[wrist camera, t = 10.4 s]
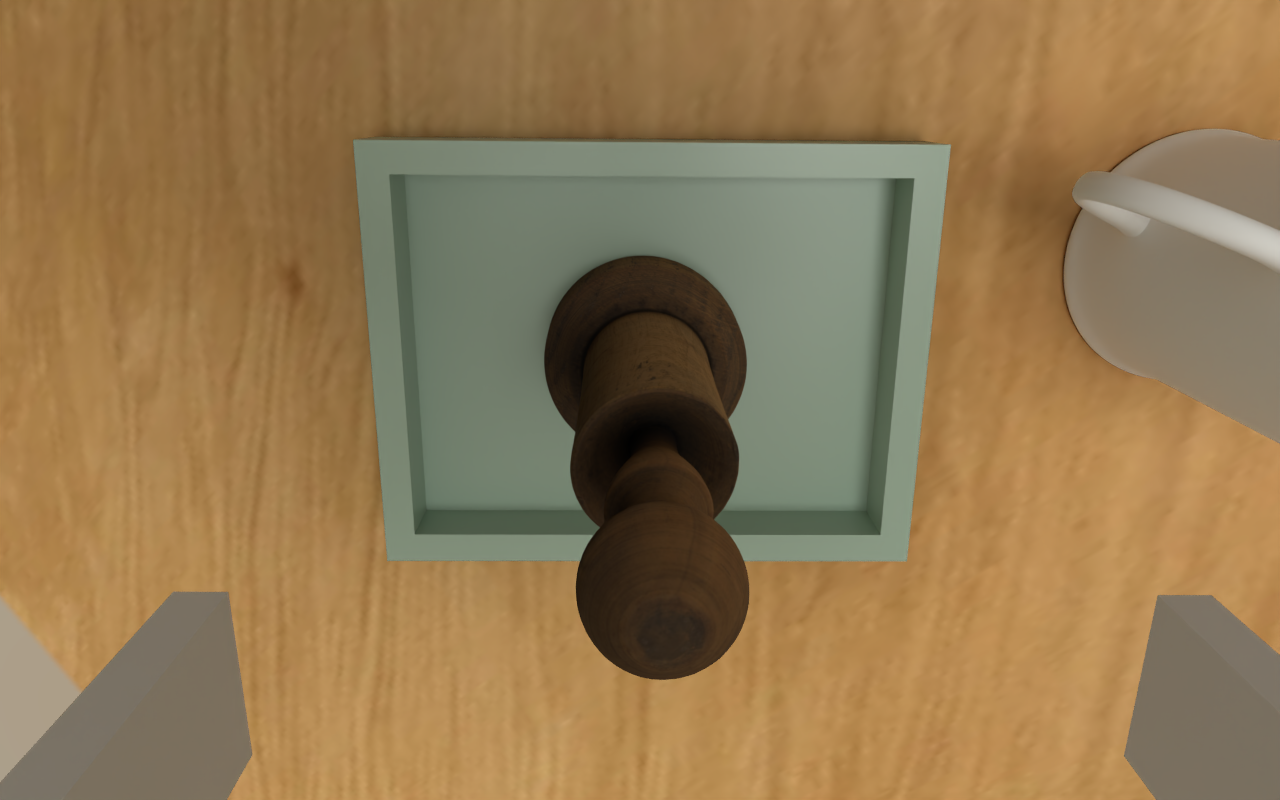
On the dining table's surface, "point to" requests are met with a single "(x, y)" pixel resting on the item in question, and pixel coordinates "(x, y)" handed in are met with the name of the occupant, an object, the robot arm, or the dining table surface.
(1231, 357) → the mug
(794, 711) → the dining table surface
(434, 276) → the tray
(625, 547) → the wooden pepper mill
